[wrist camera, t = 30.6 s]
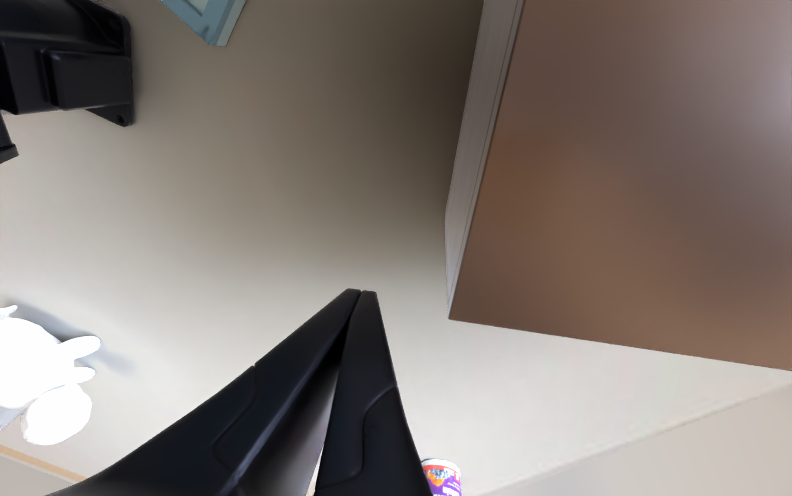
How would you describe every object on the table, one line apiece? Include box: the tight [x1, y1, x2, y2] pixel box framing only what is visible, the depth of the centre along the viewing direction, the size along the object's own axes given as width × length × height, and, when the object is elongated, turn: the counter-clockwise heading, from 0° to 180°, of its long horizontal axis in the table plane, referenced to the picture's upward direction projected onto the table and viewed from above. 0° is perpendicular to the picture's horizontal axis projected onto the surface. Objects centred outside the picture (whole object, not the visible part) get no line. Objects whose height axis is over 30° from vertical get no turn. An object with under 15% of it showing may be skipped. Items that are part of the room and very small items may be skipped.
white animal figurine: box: [0, 305, 100, 445], centre depth 32 cm, size 9×8×15 cm
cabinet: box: [445, 0, 792, 371], centre depth 12 cm, size 15×14×10 cm
